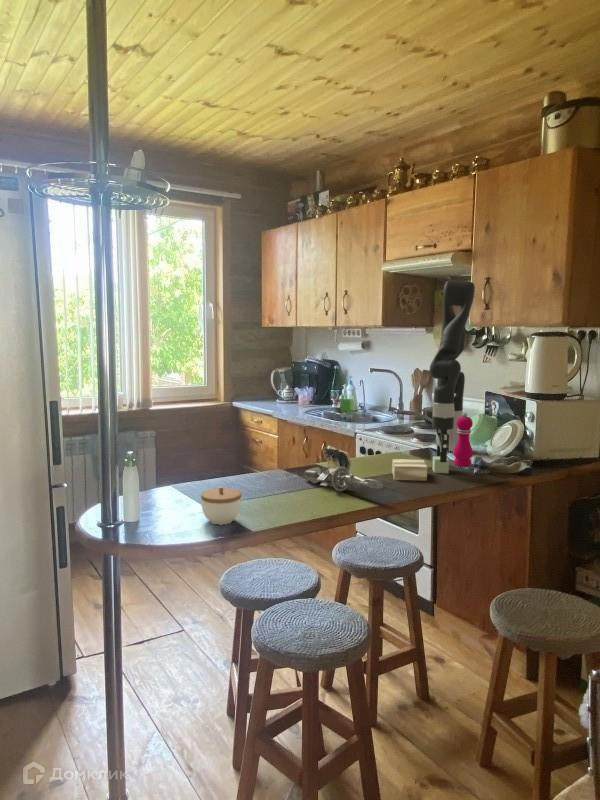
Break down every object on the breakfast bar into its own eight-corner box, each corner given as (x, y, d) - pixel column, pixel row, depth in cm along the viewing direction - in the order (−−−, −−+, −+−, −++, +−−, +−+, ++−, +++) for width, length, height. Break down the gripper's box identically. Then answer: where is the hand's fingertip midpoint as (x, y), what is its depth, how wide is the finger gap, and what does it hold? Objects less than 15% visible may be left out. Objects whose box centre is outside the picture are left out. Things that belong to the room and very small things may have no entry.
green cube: (432, 469, 220) (433, 456, 219) (446, 470, 220) (446, 456, 219) (434, 473, 215) (434, 459, 215) (448, 473, 215) (449, 459, 214)
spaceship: (371, 480, 174) (387, 466, 179) (293, 469, 201) (308, 457, 205) (379, 503, 177) (395, 489, 181) (301, 489, 203) (316, 477, 208)
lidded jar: (200, 528, 156) (199, 493, 155) (202, 515, 167) (202, 482, 165) (241, 527, 157) (241, 492, 156) (241, 514, 168) (241, 481, 167)
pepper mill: (474, 466, 225) (477, 414, 222) (455, 466, 225) (457, 413, 222) (469, 462, 232) (472, 411, 229) (450, 461, 232) (453, 410, 229)
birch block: (392, 472, 217) (392, 458, 216) (422, 473, 216) (423, 459, 215) (394, 480, 206) (394, 466, 205) (426, 481, 205) (427, 467, 204)
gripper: (430, 412, 222) (428, 455, 224) (435, 417, 208) (433, 463, 210) (450, 412, 221) (448, 455, 223) (457, 418, 207) (455, 464, 209)
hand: (441, 459), depth 217 cm, fingers open, 8 cm apart
